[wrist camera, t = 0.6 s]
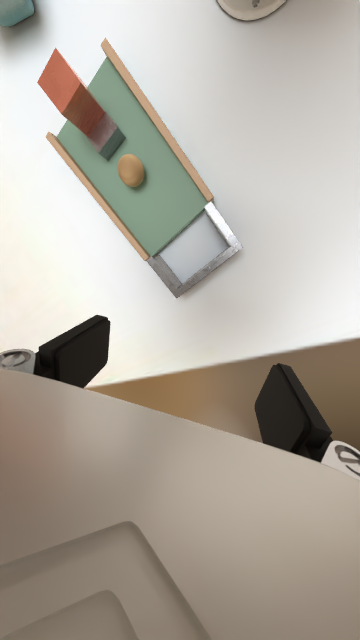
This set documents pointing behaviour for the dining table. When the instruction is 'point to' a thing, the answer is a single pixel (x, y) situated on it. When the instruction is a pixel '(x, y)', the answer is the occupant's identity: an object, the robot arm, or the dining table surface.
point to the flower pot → (15, 11)
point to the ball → (130, 170)
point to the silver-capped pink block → (80, 105)
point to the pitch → (153, 151)
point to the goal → (179, 288)
